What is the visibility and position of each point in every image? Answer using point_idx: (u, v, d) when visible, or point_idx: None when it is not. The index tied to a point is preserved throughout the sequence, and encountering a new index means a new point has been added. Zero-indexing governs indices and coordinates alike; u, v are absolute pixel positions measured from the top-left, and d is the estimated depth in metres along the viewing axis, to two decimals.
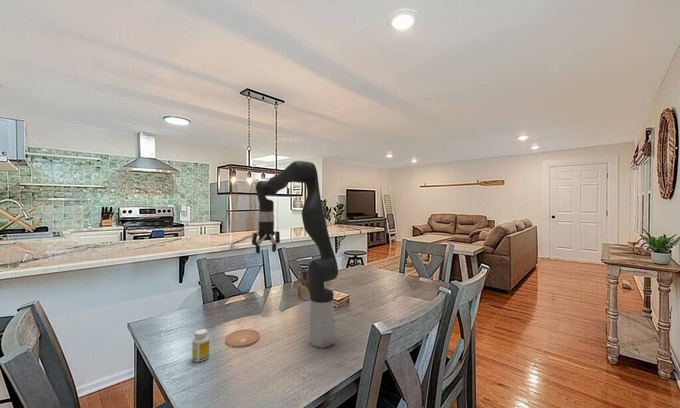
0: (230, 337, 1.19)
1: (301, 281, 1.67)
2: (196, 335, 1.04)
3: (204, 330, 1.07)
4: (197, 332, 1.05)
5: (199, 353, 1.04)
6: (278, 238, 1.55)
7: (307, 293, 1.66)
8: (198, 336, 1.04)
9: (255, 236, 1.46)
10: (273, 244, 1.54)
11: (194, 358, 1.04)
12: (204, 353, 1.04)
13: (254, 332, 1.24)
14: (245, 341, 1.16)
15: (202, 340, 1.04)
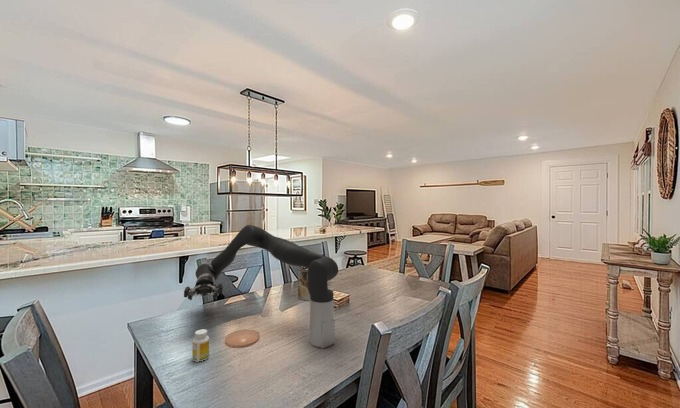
0: (230, 337, 1.19)
1: (301, 281, 1.67)
2: (196, 335, 1.04)
3: (204, 330, 1.07)
4: (197, 332, 1.05)
5: (199, 353, 1.04)
6: (220, 286, 1.25)
7: (307, 293, 1.66)
8: (198, 336, 1.04)
9: (187, 287, 1.22)
10: None
11: (194, 358, 1.04)
12: (204, 353, 1.04)
13: (254, 332, 1.24)
14: (245, 341, 1.16)
15: (202, 340, 1.04)
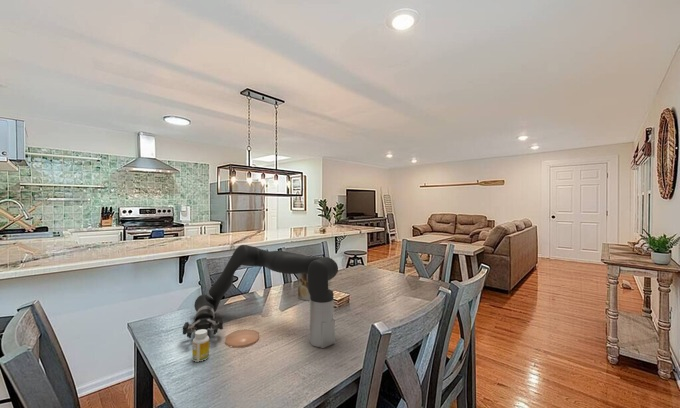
0: (230, 337, 1.19)
1: (301, 281, 1.67)
2: (196, 335, 1.04)
3: (204, 330, 1.07)
4: (197, 332, 1.05)
5: (199, 353, 1.04)
6: (220, 321, 1.21)
7: (307, 293, 1.66)
8: (198, 336, 1.04)
9: (185, 323, 1.18)
10: (214, 327, 1.17)
11: (194, 358, 1.04)
12: (204, 353, 1.04)
13: (254, 332, 1.24)
14: (245, 341, 1.16)
15: (202, 340, 1.04)
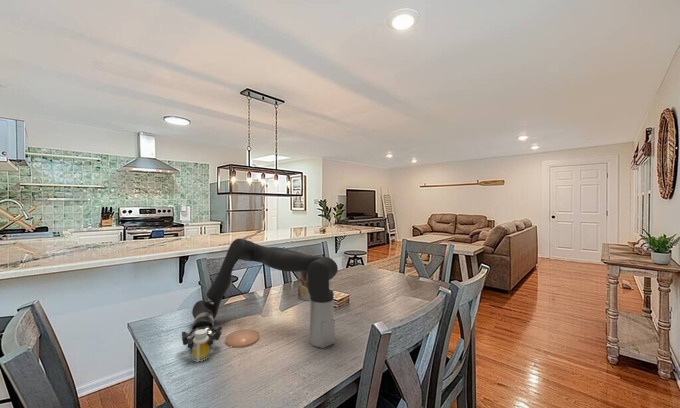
0: (230, 337, 1.19)
1: (301, 281, 1.67)
2: (196, 335, 1.04)
3: (204, 330, 1.07)
4: (197, 332, 1.05)
5: (199, 353, 1.04)
6: (217, 330, 1.12)
7: (307, 293, 1.66)
8: (198, 336, 1.04)
9: (183, 333, 1.09)
10: None
11: (194, 358, 1.04)
12: (204, 353, 1.04)
13: (254, 332, 1.24)
14: (245, 341, 1.16)
15: (202, 340, 1.04)
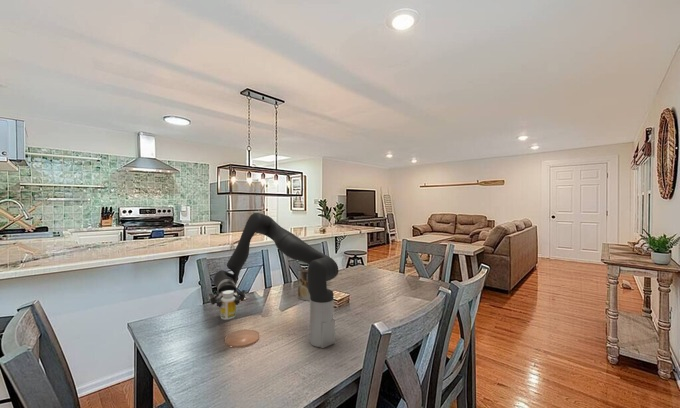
0: (230, 337, 1.19)
1: (301, 281, 1.67)
2: (224, 294, 1.12)
3: (231, 291, 1.15)
4: (225, 292, 1.13)
5: (227, 311, 1.12)
6: (242, 293, 1.20)
7: (307, 293, 1.66)
8: (226, 296, 1.12)
9: (211, 295, 1.17)
10: None
11: (222, 316, 1.12)
12: (231, 311, 1.12)
13: (254, 332, 1.24)
14: (245, 341, 1.16)
15: (230, 299, 1.12)
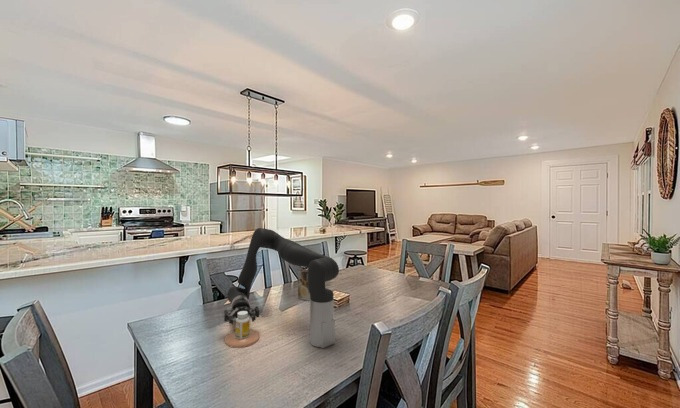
0: (230, 337, 1.19)
1: (301, 281, 1.67)
2: (239, 315, 1.18)
3: (245, 311, 1.21)
4: (239, 313, 1.20)
5: (242, 331, 1.18)
6: (257, 309, 1.27)
7: (307, 293, 1.66)
8: (241, 317, 1.18)
9: (225, 311, 1.24)
10: (251, 315, 1.23)
11: (237, 335, 1.18)
12: (245, 331, 1.19)
13: (254, 332, 1.24)
14: (245, 341, 1.16)
15: (244, 319, 1.19)
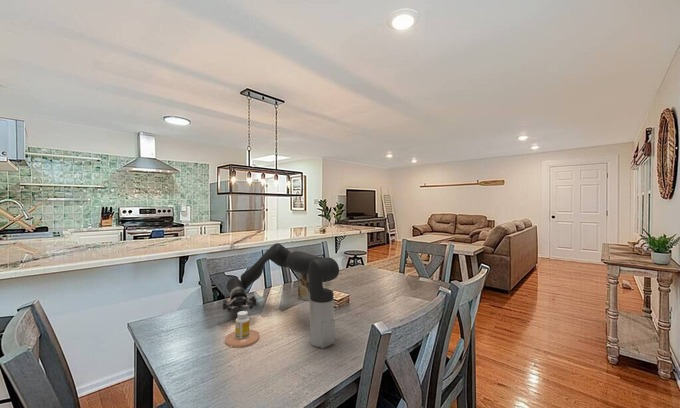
0: (230, 337, 1.19)
1: (301, 281, 1.67)
2: (239, 315, 1.18)
3: (245, 311, 1.21)
4: (239, 313, 1.20)
5: (242, 331, 1.18)
6: (253, 299, 1.39)
7: (307, 293, 1.66)
8: (241, 317, 1.18)
9: (224, 301, 1.36)
10: None
11: (237, 335, 1.18)
12: (245, 331, 1.19)
13: (254, 332, 1.24)
14: (245, 341, 1.16)
15: (244, 319, 1.19)
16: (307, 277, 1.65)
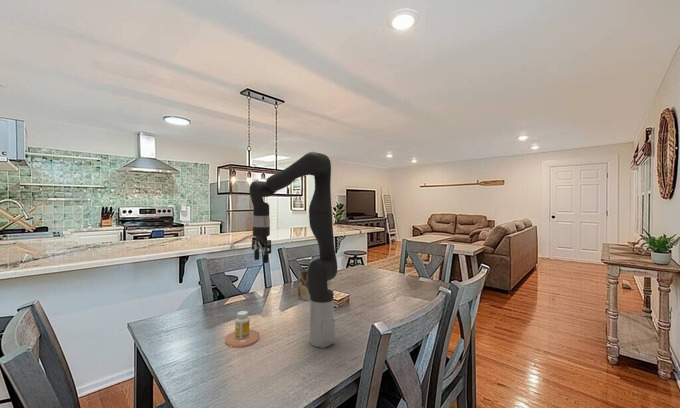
0: (230, 337, 1.19)
1: (301, 281, 1.67)
2: (239, 315, 1.18)
3: (245, 311, 1.21)
4: (239, 313, 1.20)
5: (242, 331, 1.18)
6: (265, 248, 1.30)
7: (307, 293, 1.66)
8: (241, 317, 1.18)
9: (252, 240, 1.40)
10: None
11: (237, 335, 1.18)
12: (245, 331, 1.19)
13: (254, 332, 1.24)
14: (245, 341, 1.16)
15: (244, 319, 1.19)
16: (307, 277, 1.65)
